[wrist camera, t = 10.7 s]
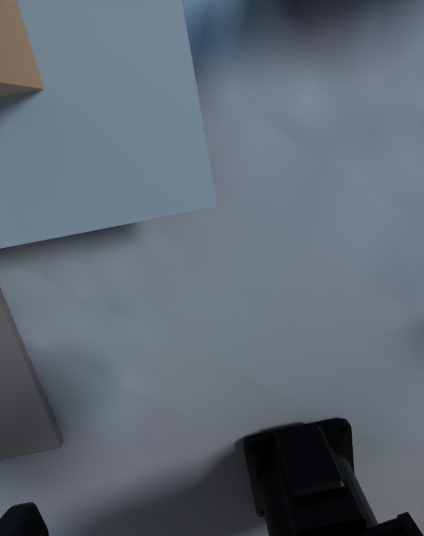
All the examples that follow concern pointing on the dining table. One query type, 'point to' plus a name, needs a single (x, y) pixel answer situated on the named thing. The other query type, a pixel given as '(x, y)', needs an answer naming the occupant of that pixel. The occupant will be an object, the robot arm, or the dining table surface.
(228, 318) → the dining table surface
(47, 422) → the mat
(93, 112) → the cover
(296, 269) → the dining table surface
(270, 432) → the robot arm
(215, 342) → the dining table surface
